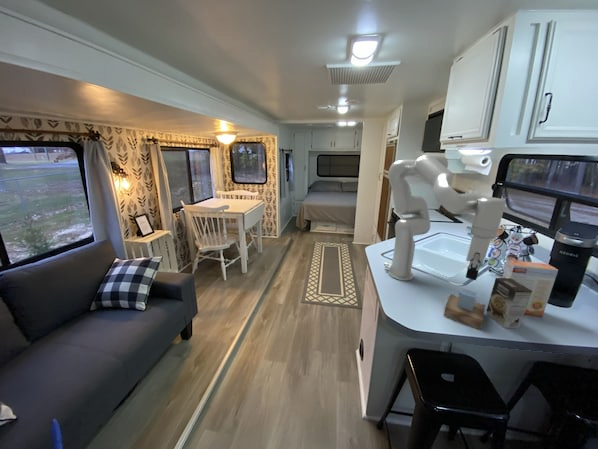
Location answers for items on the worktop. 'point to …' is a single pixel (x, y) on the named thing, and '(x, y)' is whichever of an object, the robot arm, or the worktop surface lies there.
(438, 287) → the worktop surface
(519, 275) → the cracker box
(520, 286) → the coffee box
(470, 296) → the blue block
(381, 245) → the worktop surface
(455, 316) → the walnut base
